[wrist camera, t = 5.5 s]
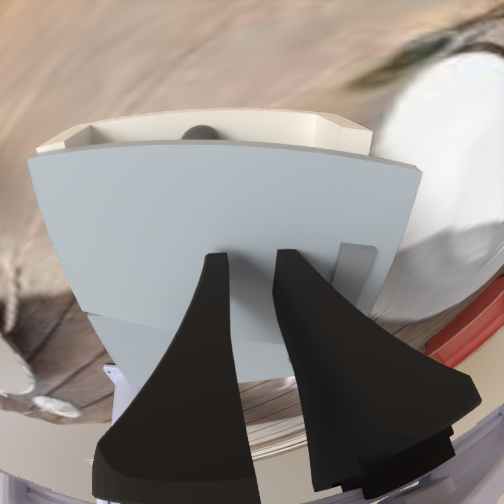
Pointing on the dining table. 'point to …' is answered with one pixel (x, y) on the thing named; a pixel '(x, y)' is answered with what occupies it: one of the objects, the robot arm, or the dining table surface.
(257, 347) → the cover
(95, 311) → the cover
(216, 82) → the dining table surface
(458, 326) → the plant saucer
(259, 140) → the white slotted box
